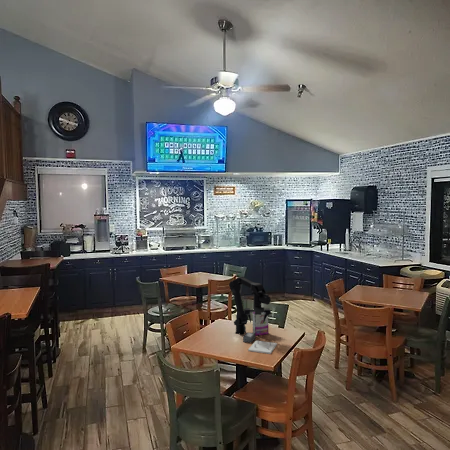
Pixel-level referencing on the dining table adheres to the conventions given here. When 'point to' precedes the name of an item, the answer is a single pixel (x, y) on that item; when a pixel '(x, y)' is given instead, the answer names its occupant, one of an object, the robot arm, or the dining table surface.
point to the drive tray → (262, 347)
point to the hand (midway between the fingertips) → (257, 323)
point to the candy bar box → (260, 324)
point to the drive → (249, 337)
